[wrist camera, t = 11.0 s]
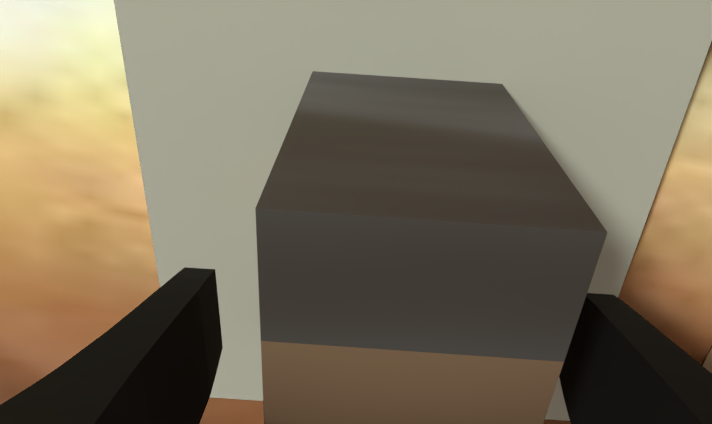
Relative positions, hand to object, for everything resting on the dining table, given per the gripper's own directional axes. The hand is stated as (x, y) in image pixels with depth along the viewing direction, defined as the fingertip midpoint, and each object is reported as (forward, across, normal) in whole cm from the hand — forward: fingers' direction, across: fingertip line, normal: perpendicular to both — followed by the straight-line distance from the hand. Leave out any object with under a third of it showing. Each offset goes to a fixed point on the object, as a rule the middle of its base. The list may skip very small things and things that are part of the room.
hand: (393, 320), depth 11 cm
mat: (+3, 0, 0) cm, 3 cm away
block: (+3, 0, 0) cm, 3 cm away
